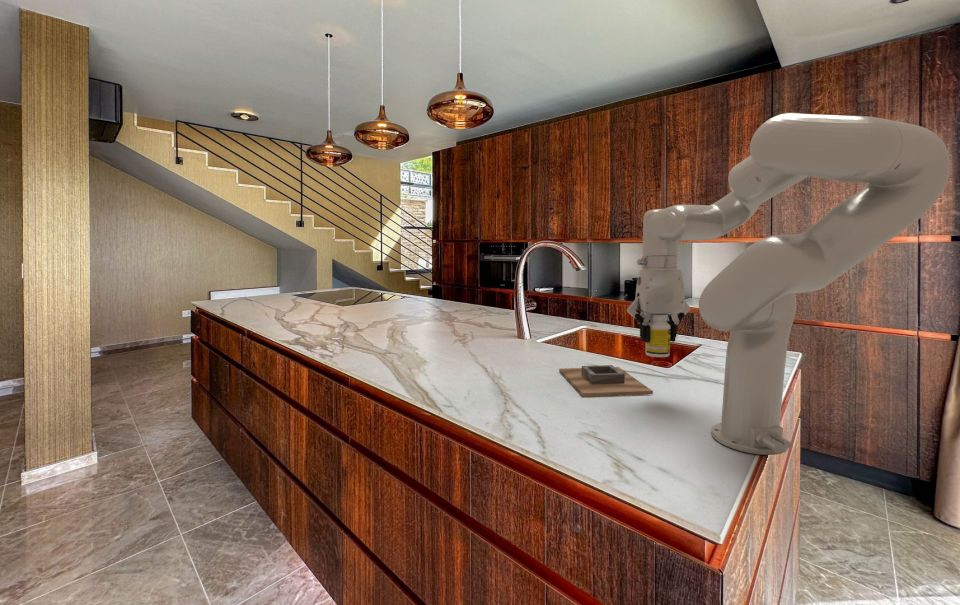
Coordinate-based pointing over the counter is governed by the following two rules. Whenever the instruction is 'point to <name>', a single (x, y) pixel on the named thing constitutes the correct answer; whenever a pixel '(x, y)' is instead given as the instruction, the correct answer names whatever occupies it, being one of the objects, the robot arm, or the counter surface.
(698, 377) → the counter surface
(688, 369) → the counter surface
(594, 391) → the collar board
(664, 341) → the supplement bottle
